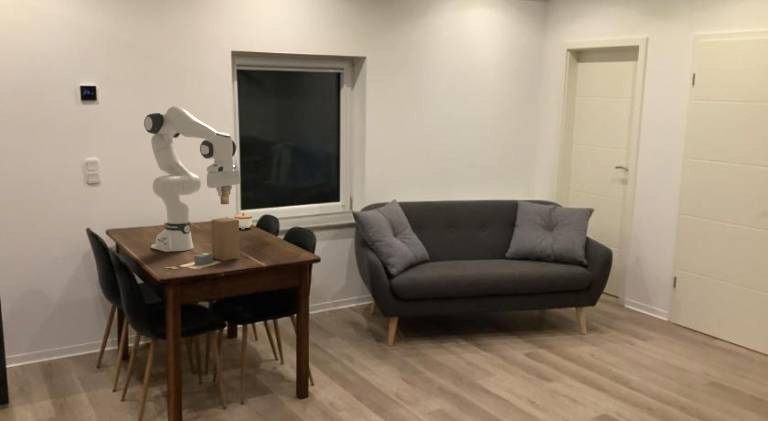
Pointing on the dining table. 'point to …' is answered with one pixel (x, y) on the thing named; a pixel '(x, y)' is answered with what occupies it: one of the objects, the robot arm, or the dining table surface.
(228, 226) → the wooden block
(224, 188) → the peg
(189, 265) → the plywood panel
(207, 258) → the grey rectangular block
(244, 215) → the lidded jar
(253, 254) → the dining table surface
